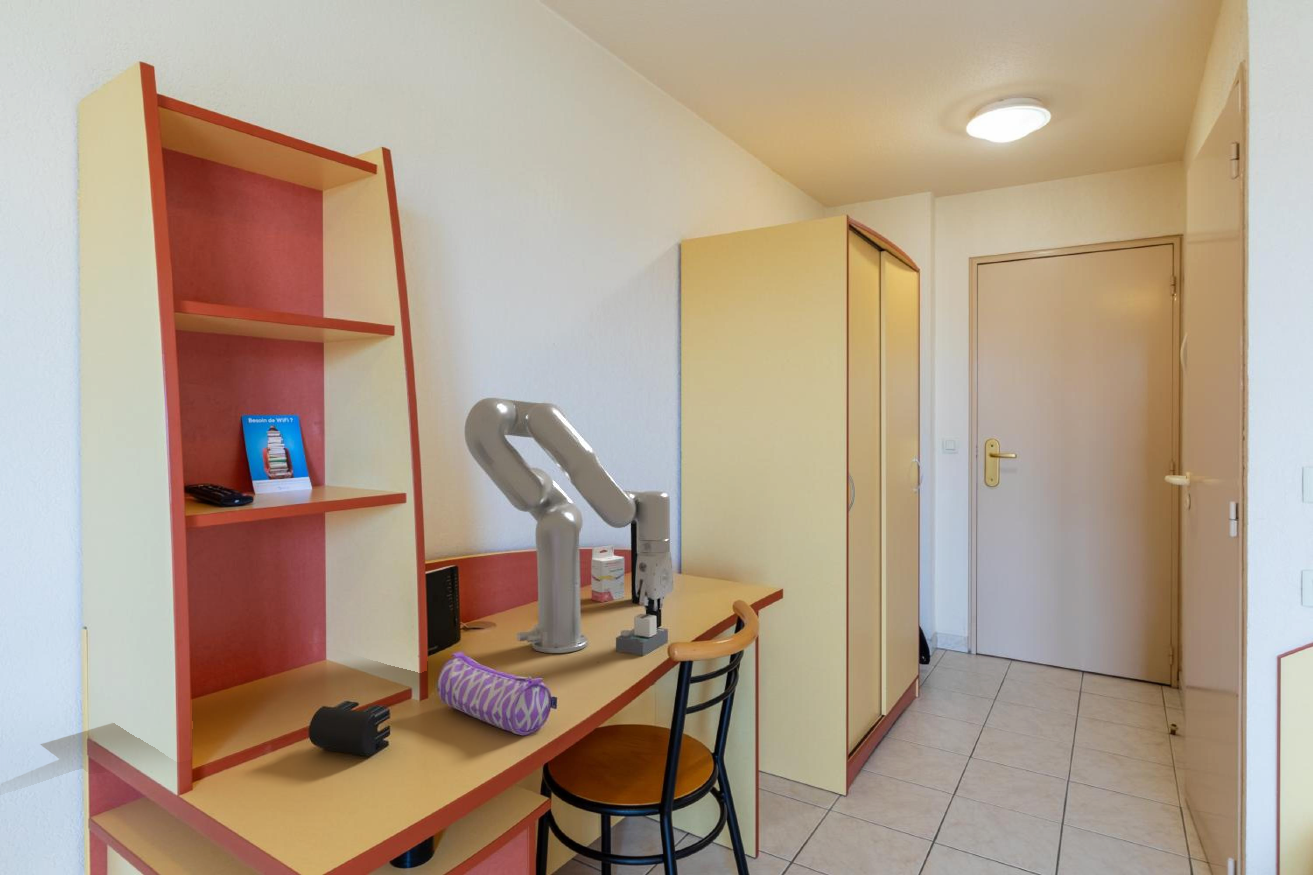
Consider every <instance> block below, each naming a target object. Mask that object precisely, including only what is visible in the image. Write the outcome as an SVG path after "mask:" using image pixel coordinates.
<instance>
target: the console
mask: <svg viewBox="0 0 1313 875" xmlns="http://www.w3.org/2000/svg"><path fill="white" fill-rule="evenodd" d="M668 632H669V631H668V628H664V627H658V628H657V634H655V635H653V636H651V637H645V636H639V635H634V628H633V629H632V628H631V630H628V629H626V630H625V629H624V630H621V631H620V635H618V636H616V637H615V652H618V651H619V652H620V653H625V654H629V653H631V654H630V655H635V654H636V656H640V655H641V657H644V656H646V655H647V653H648V654H650V653H652V652H653V651H654V650H657V649H659V648H660V647H661V646H663V645H665V644H667V643H668V641H669V640H668V638H669V634H668Z"/></svg>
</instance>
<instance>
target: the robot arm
mask: <svg viewBox="0 0 1313 875" xmlns="http://www.w3.org/2000/svg"><path fill="white" fill-rule="evenodd" d="M506 436H513V437H521V438H522V437H523V438H531V439H533V440H534V441H535V442H536V443H537V445H538V446H539V447H540V448H541V449H542V450H543V452H544V453H545V454H547V455H548V457H549V458H550V459H551V460H552V461H553V462H554V464H555V465H556V466H557V467H558V468H559V469H560V470H561V471H562V473H563V474H564V475H565V477H566V478H567V479H568V481H569V482H570V483H571V484H572V486H574V488H575V489H576V490H577V492H578V493H579V494H580V496H581V497H582V498H583V499H584V500H585V502H586V503H587V504H588V505H589V507H591V508H592V510H593V511H595V514H597V515H598V516H599V517H600V518H601V520H602V521H603V522H604V523H606V524H607V525H608V526H610V527H612V528H615V529H623V528H625V527H628V526H629V525H631V522H632V521H636V522H637V553H638V556H637V564H636V582H635V587H636V596H637V597H638V598H640V602H639V606H644V610H645V614H650V615H654V616H656V624H657V628H661V626H662V609H663V607H664V606H663V604H664V598H666V596H667V595H669V594H670V593H672V592H673V590H674V574H673V561H672V554H671V539H670V537H671V532H670V531H671V527H670V526H671V523H670V522H671V519H670V518H671V516H670V514H671V511H670V510H671V509H670V508H671V506H670V505H671V501H670V500H671V498H670V496H669V493H667V492H665V491H659V490H655V491H653V490H652V491H651V490H650V491H642V492H641V491H639V492H638V491H631V490H626V489H625V490H624V489H622V488H621V487H620V486H619V485H618V484H617V483H616V482H615V480H614V479H613V478H612V477H611V476H610V474H609V473H608V472H607V471H606V469H605V468H604V467H603V465H602V463H601V462H600V459H599V458H598V457H599V456H598V455H597V453H596V452H595V450H594V448H593V447H592V446H591V445H590V444H589V443H588V441H586V439H585V438H584V437H583V436H582V435H581V434H580V433H579V431H577V429H576V428H575V427H574V426H573V425H572V424H571V422H569V420H568V419H567V418H566V416H565V414H564V411H563V410H562V409H561V408H560V407H559V406H558V405H556V404H553V403H549V402H531V401H523V400H515V399H514V400H512V399H507V398H497V397H487V398H483V399H481V400H478V401H477V402H476V403H475V404H474V405H473V406H472V407H471V408H470V410H469V412H468V414H467V417H466V420H465V425H464V440H465V443H466V446H467V449H468V451H469V453H470V455H471V456H472V458H473V459H474V461H476V463H477V465H479V466H480V468H481V469H482V470H483V471H484V473H485V474H486V475H487V476H488V477H489V479H490V480H491V481H492V483H493V484H494V485H495V486H496V487H497V488H498V490H500V492H501V493H502V494H503V496H505V498H506V499H507V500H508V501H509V503H510V504H511V505H512V507H514V508H515V509H517V510H518V511H522V512H527V513H529V514H530V515H531V516H532V517H533V519H534V520H535V521H536V524H535V546H536V560H537V562H536V564H537V592H538V594H537V597H538V598H537V602H538V604H537V606H538V607H537V608H538V611H537V612H538V624H535V625H534V629H531V630H530V631H522V632H518V633H517V641H518V642H520V643H521V642H524V641H525V642H527V643H531V647H532V648H533V649H534V650H535V651H538V652H541V653H545V654H546V653H547V654H565V653H572V652H576V651H579V650H582V649H584V648H586V647H587V645H588V643H589V639H588V637H587V636H586V635H585V634H582V630H581V629H582V626H581V625H582V618H581V617H582V615H581V612H582V610H581V604H582V603H581V562H580V561H581V556H580V533H581V531H582V528H583V522H584V521H583V516H582V513H581V511H580V509H579V508H578V506H577V505H576V504H575V503H574V502H573V501H572V499H571V498H570V497H569V496H568V495H567V494H566V493H565V492H564V490H563V489H562V488H561V487H560V485H559V484H558V483H557V482H556V481H555V479H553V478H552V476H551V475H550V474H548V473H547V472H546V471H544V470H543V469H541V468H538V467H532V466H531V465H530V463H528V462H527V460H525V459H524V458H523V457H522V455H521V454H520V452H519V451H518V450H517V449H516V448H515V447H514V446H513V444H511V443H510V442H509V441H508V439H507V438H506Z"/></svg>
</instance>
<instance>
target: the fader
mask: <svg viewBox="0 0 1313 875" xmlns="http://www.w3.org/2000/svg"><path fill="white" fill-rule="evenodd" d="M633 629H634V635H639V636H645V637H651V636H653V635H655V634H657V624H656V616H654V615H650V614H646V613H639V614H637V615H635V616H634V617H633Z"/></svg>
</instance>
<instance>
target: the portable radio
mask: <svg viewBox="0 0 1313 875" xmlns="http://www.w3.org/2000/svg"><path fill="white" fill-rule="evenodd" d="M637 556H638V553H637V522H636V521H632V522H631V523H630V571H631V577H630V579H631V581H630V582H631V589H630V590H631V591H630V592H631V603H632V604H639V602H640V598H638V597H637V596H636V587H635V582H636V564H637ZM639 605H640V604H639Z"/></svg>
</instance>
